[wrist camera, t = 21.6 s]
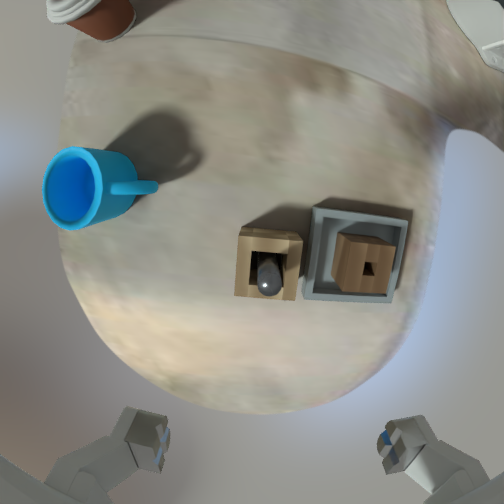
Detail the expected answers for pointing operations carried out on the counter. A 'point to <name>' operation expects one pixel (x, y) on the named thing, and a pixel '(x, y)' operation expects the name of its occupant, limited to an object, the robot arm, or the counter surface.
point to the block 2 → (362, 263)
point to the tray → (323, 246)
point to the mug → (90, 186)
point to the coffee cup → (94, 16)
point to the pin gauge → (268, 274)
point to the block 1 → (268, 242)
